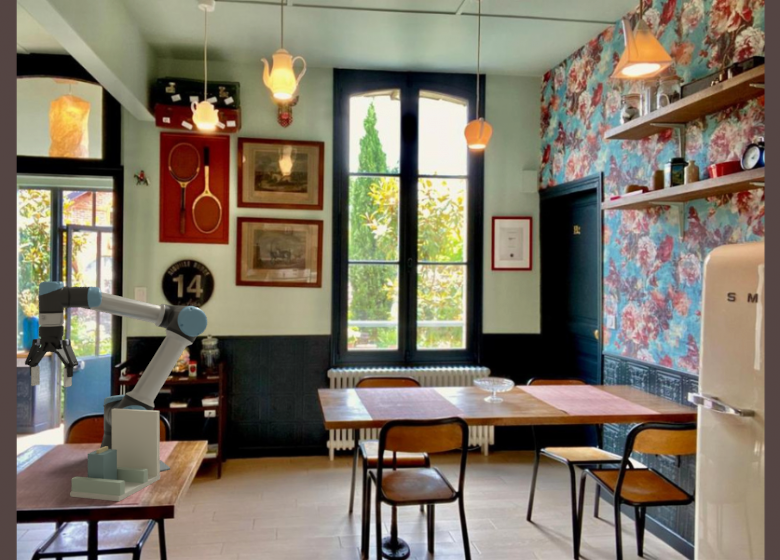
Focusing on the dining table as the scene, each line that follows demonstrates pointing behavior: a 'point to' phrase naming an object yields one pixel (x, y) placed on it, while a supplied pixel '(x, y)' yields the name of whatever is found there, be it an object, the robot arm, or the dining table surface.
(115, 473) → the teal block with bar
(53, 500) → the dining table surface
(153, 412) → the pale green rail stand
